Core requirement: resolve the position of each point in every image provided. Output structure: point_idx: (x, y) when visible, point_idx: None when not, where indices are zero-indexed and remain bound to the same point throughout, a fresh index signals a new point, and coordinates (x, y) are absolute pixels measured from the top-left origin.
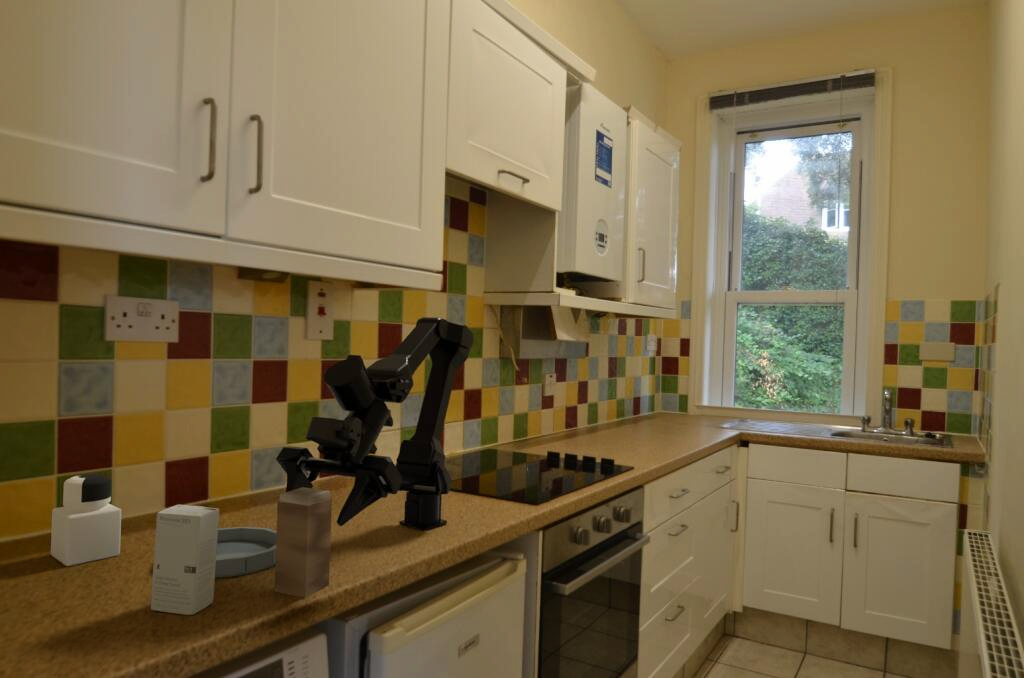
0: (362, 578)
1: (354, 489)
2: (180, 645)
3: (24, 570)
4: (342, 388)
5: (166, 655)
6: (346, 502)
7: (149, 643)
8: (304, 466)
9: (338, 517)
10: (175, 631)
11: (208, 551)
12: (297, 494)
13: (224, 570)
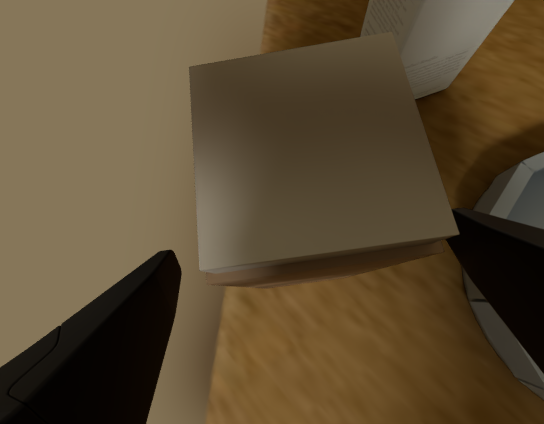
0: (230, 365)
1: (18, 383)
2: (278, 26)
3: None
4: None
5: (269, 8)
6: (112, 302)
7: (316, 10)
8: None
9: (163, 257)
10: (321, 40)
11: (393, 5)
12: (304, 82)
13: (490, 190)
